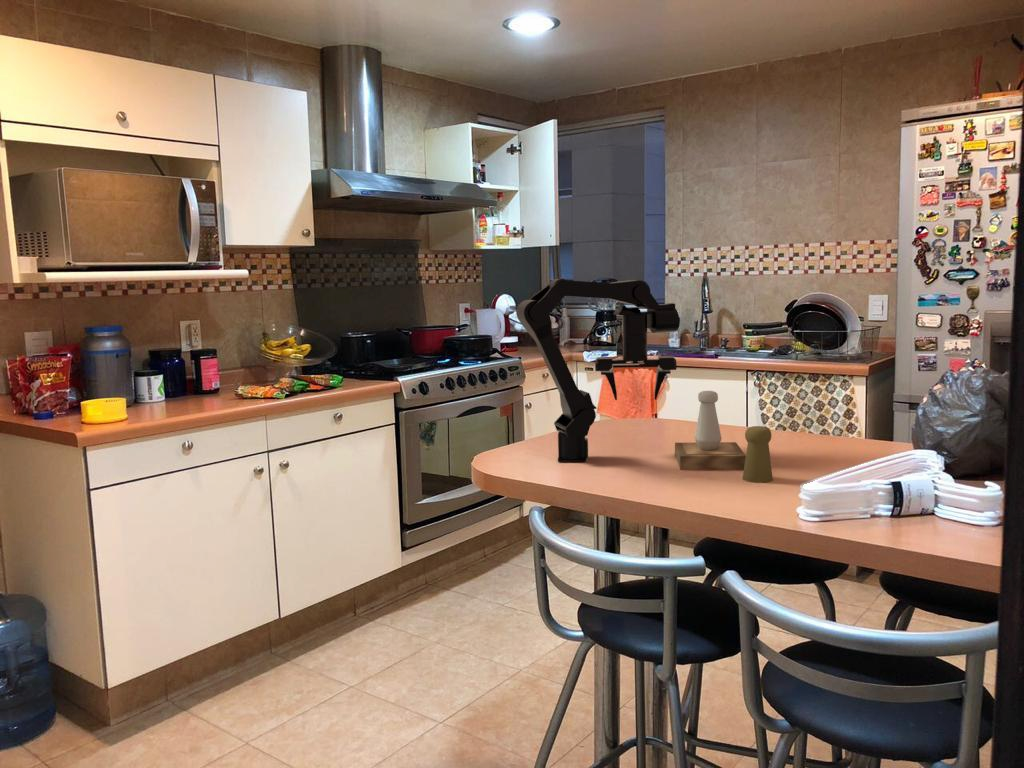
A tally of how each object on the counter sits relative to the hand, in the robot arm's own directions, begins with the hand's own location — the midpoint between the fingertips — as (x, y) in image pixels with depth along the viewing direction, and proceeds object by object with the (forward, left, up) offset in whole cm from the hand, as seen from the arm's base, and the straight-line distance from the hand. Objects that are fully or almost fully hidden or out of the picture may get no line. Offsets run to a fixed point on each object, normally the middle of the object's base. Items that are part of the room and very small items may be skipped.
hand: (635, 399), depth 193 cm
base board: (+16, -9, -13) cm, 22 cm away
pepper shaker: (+24, -24, -13) cm, 36 cm away
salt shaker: (+16, -9, -10) cm, 21 cm away
